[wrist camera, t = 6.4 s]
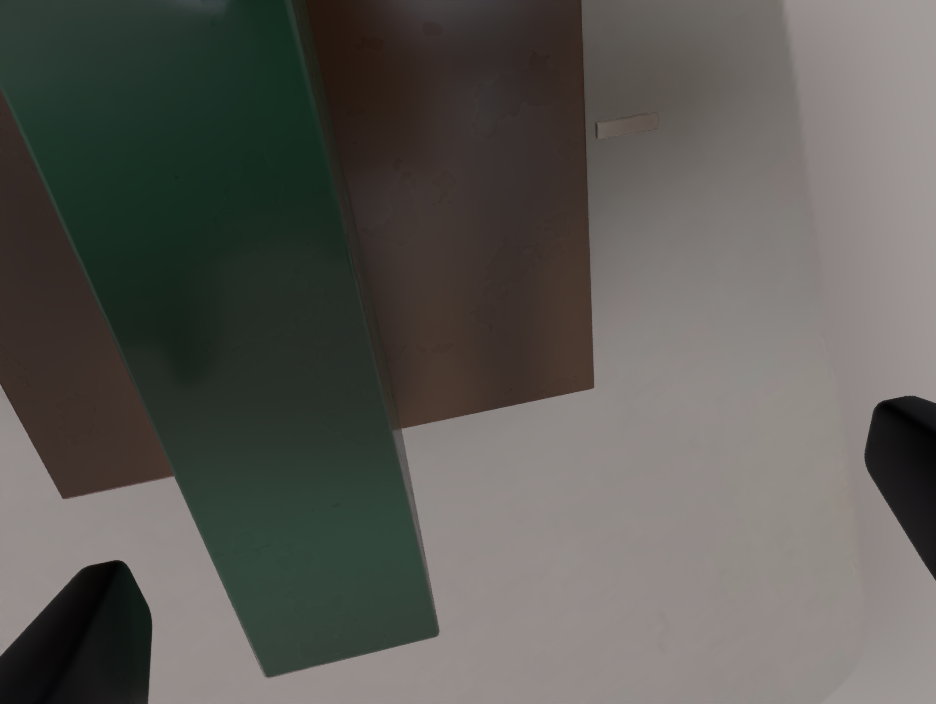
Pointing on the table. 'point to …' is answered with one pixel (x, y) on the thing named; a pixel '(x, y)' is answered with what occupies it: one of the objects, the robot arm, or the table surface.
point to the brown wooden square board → (366, 231)
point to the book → (234, 300)
